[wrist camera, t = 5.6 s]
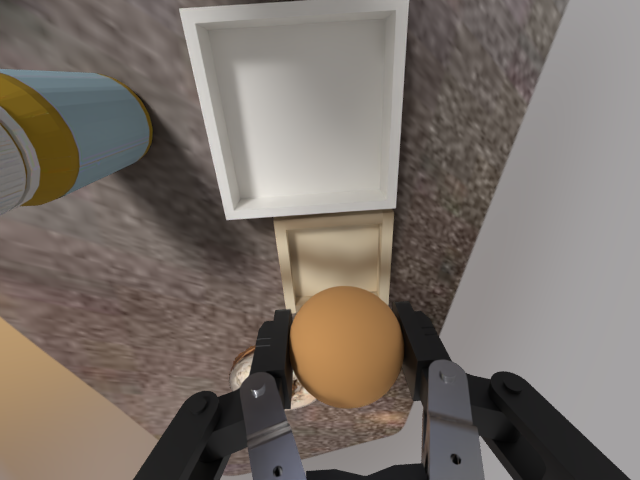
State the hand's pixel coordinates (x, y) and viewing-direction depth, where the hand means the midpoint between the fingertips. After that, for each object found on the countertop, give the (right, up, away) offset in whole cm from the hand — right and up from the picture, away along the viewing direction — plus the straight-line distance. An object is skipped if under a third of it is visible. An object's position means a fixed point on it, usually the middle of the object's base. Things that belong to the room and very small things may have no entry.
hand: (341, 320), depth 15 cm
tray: (0, +2, +17) cm, 18 cm away
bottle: (-18, +14, +11) cm, 25 cm away
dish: (-2, +14, +11) cm, 18 cm away
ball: (0, 0, +1) cm, 1 cm away
